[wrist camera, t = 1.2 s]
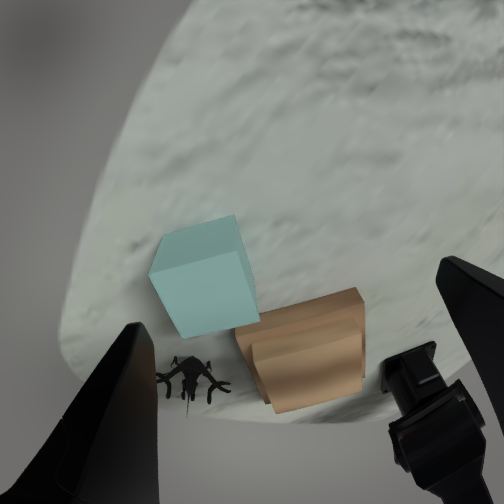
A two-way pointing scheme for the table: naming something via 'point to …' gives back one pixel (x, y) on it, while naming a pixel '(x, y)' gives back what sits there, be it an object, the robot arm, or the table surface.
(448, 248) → the table surface
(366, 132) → the table surface
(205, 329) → the teal block
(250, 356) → the plinth
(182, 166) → the table surface
